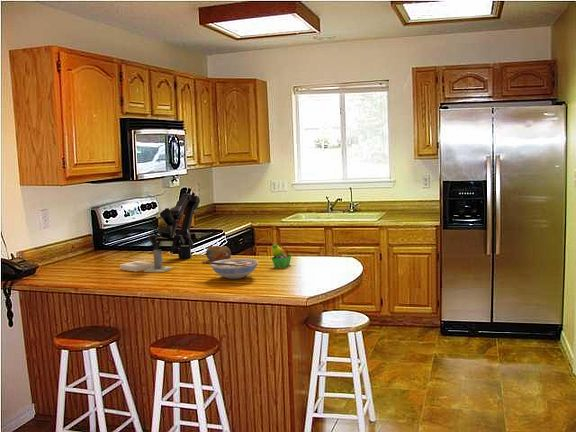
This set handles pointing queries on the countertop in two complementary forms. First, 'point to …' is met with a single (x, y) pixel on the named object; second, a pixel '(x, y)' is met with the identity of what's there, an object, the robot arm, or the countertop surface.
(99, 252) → the countertop surface
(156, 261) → the t key
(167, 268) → the key mat
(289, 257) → the fruit basket
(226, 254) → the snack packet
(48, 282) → the countertop surface
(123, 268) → the cover plate
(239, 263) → the ramen bowl
